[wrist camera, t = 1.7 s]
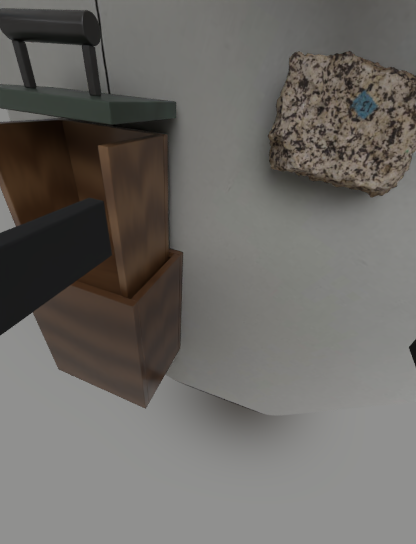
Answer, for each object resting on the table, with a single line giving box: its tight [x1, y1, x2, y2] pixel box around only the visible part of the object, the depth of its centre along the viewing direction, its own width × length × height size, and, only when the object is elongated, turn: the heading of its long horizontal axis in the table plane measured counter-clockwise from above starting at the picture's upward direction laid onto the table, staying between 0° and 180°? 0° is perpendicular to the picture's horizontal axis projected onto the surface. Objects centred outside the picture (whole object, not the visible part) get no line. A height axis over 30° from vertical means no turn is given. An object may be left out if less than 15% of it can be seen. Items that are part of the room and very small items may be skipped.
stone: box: [268, 51, 416, 197], centre depth 17 cm, size 9×5×10 cm
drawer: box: [0, 8, 176, 299], centre depth 23 cm, size 22×13×9 cm, turn 177°
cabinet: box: [33, 249, 183, 408], centre depth 34 cm, size 19×15×11 cm
